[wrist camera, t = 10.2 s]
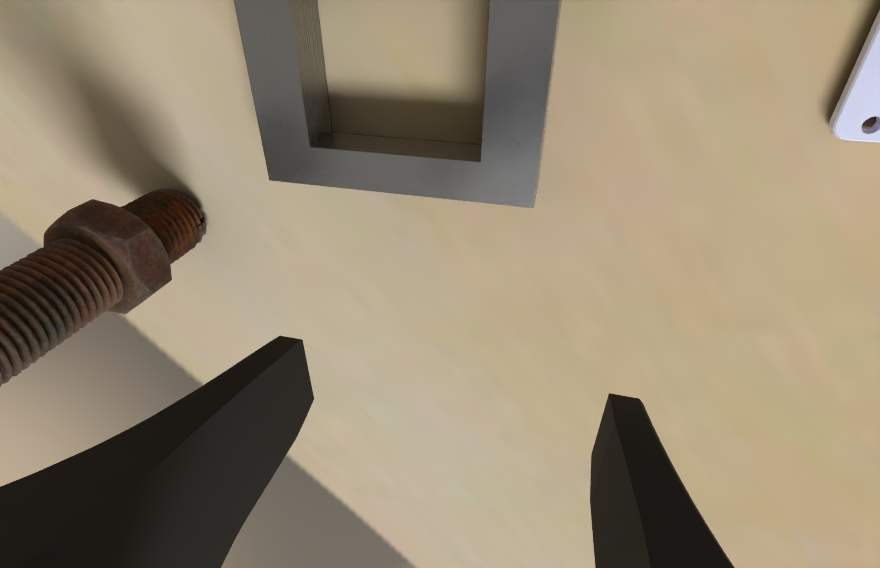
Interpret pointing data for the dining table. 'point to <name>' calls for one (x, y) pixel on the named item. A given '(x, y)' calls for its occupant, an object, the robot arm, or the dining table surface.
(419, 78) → the dining table surface
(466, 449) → the dining table surface
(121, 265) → the bolt
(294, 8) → the frame with rectangular openings
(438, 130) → the dining table surface
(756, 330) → the dining table surface
